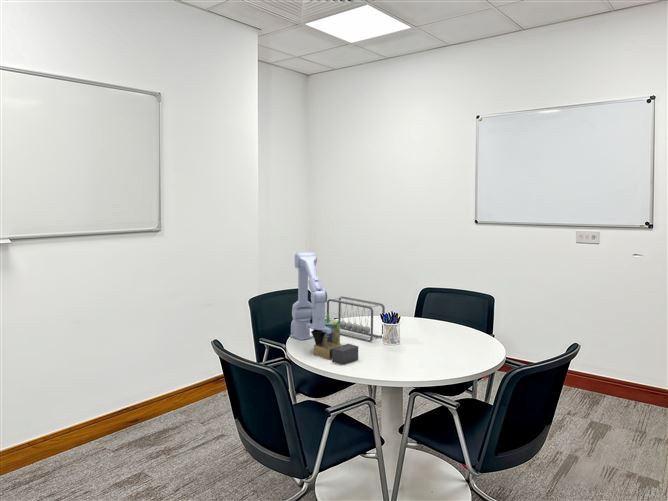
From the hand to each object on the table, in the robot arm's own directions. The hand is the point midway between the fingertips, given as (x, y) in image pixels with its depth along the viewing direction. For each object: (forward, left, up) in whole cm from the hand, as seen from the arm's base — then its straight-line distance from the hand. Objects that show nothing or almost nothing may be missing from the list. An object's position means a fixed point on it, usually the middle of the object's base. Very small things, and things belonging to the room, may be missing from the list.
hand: (318, 346), depth 232 cm
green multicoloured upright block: (-4, +11, -3) cm, 12 cm away
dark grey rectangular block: (+14, 0, -3) cm, 14 cm away
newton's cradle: (-8, +34, -3) cm, 35 cm away
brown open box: (+6, 0, -3) cm, 7 cm away
